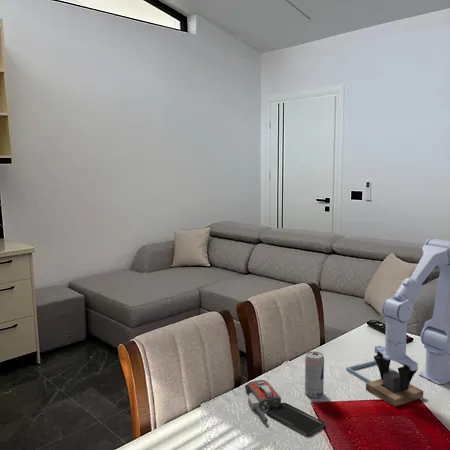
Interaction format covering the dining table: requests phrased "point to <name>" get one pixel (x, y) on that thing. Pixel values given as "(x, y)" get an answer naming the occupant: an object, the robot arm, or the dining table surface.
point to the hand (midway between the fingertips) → (394, 384)
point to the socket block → (391, 397)
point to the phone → (296, 419)
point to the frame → (351, 368)
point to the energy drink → (314, 374)
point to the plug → (392, 381)
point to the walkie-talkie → (262, 396)
